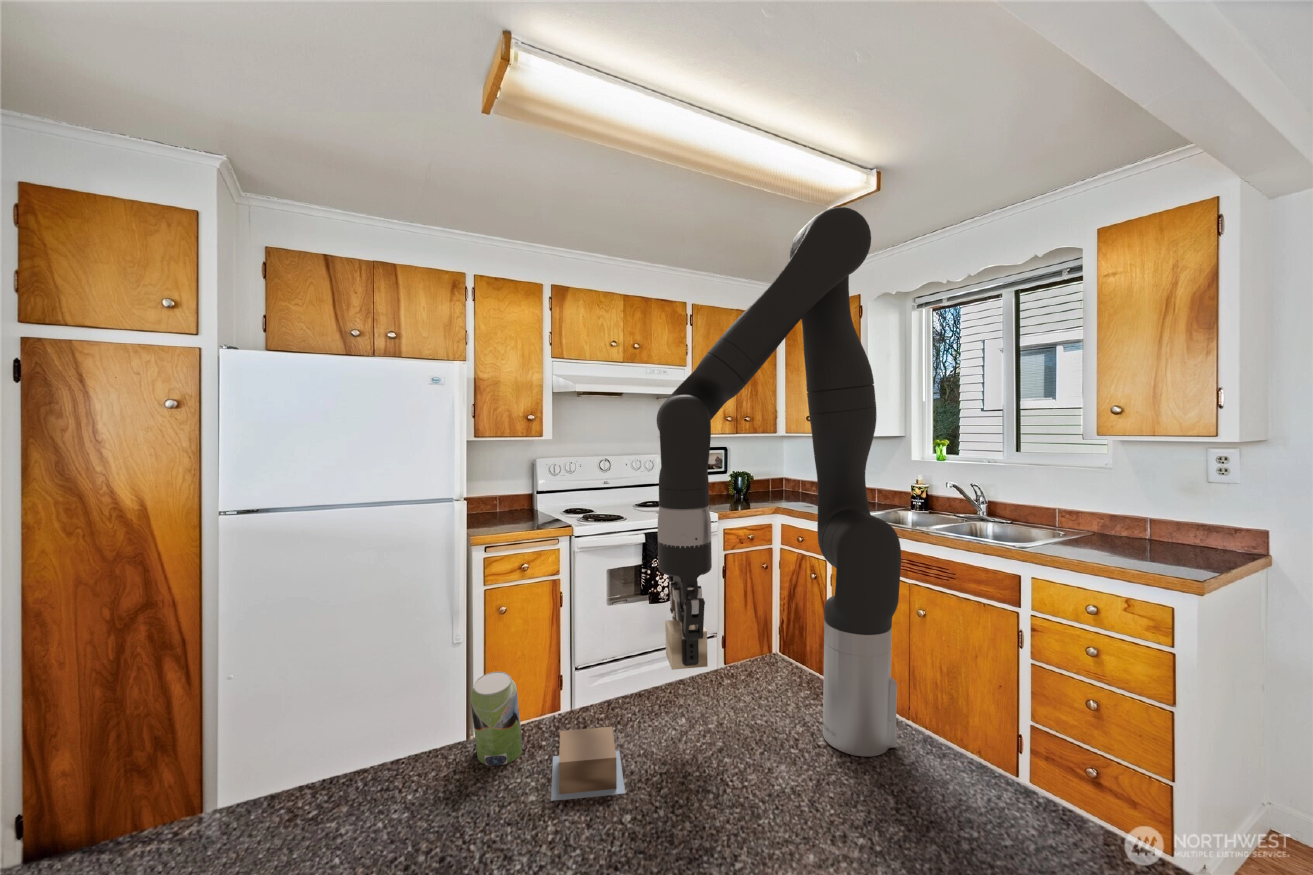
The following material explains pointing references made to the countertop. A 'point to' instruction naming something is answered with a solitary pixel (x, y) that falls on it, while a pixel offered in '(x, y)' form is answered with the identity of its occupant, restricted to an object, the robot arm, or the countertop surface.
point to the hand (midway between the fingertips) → (686, 655)
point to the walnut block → (587, 760)
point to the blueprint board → (619, 790)
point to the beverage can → (496, 719)
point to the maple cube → (676, 646)
